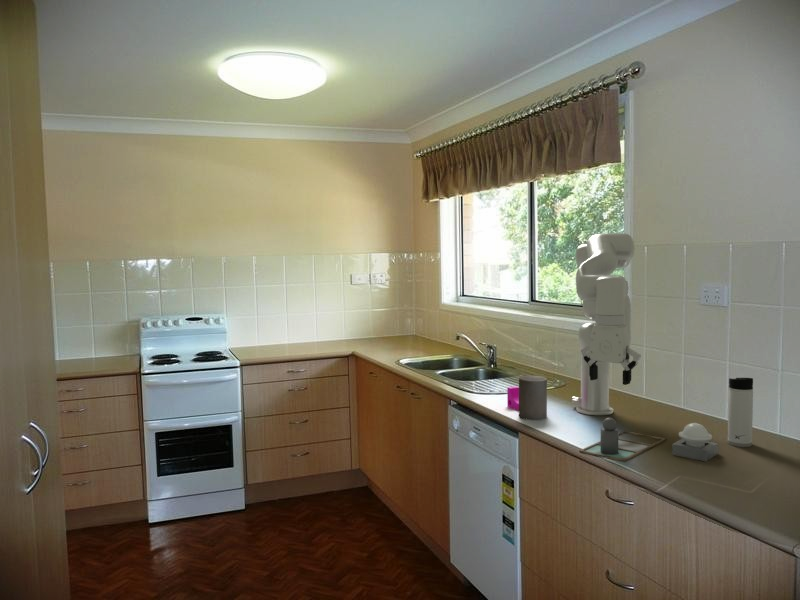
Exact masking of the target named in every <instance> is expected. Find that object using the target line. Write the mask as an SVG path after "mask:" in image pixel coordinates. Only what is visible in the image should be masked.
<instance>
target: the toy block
mask: <svg viewBox="0 0 800 600" xmlns="http://www.w3.org/2000/svg"><path fill="white" fill-rule="evenodd" d="M506 389H507V390H506V391H507V395H506V396H507V397H506V398H507V400H506V401H507V402H506V403H507V405H506V406H507V407H509V408H510V409H512V410H513V409H514V410H516V411H518V412H519V386H510V387H507V388H506Z"/></svg>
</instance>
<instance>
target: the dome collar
mask: <svg viewBox="0 0 800 600" xmlns="http://www.w3.org/2000/svg"><path fill="white" fill-rule="evenodd" d="M671 455H672V456H677V457H683V458H686V459H687V458H688V459H692V460H698V461H702V462H708V461H709V460H711V459H712V458H713V457H715V456H717V455H719V443H718V442H714V441H713V442H712V441H706V443H705V447H703V448H699V447H694V446H689V445H686V441H685V440H684V439H683V438H681V439H679V440H677V441H676V442H673V443H672V445H671Z"/></svg>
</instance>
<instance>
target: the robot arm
mask: <svg viewBox="0 0 800 600" xmlns="http://www.w3.org/2000/svg"><path fill="white" fill-rule="evenodd" d="M634 254H635V242H634V240H633V237H632V236H631V235H630V234H629V233H625V232H623V233H622V232H618V233H617V232H616V233H615V232H612V233H598V234H594V235H591V237H589V238H588V240H587V242H586V243H583V244H580V245H579V246H578V247H577V248H576V250H575V259H576V266H577V270H576V274H575V287H576V289H575V290H576V293H577V294H576V295H577V297H578V298H579V299H580V300H581V301H582V312H583V315H584V316H585V318H587V319H591V320H592V322H587V323H584V324H581V325H580V327H579V328H578V334H577V335H578V343H579V344H578V345H579V349H580V350H579V351H580V396H579V397H578V396H572V397H571V403H572V404H577V406H575V407H576V409H575V410H576V412H577V413H579V414H583V415H589V416H608V415H612V414H613V413H614V408H613V407H611V406H610V404H609V403H610V401H609V400H610V394H609V393H610V386H609V385H610V363H611V364H620V365H621V366H622V367H623V370H622V385H623V386H626V385H630V384H631V381H632V370H633V369H634V368H635V367H636V366H637V365H638V363H639V361H640V360H641V358H642V355H641V354H640V353H638V352H637V351H635V350H634V349H632V348H631V347H630V345H631V340H632V339H631V337H632V336H631V335H632V334H631V333H632V321H631V320H632V306H631V305H632V304H631V299H630V296H629V295H628V293H629V283H628V280H626V278H625V276H623V275H621V274H613V273H614V272H615V271H616V269H624V268H627V267H628V266H629V264H630V263H631V261H632V259H633V257H634V256H635V255H634ZM593 321H594V322H593ZM631 357H632V361H630V358H631Z"/></svg>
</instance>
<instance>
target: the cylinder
mask: <svg viewBox="0 0 800 600" xmlns="http://www.w3.org/2000/svg"><path fill="white" fill-rule="evenodd" d="M617 426H618V425H617V421H616V420H615V419H614V418H612V417H606V418H605V419H603V421H602V428H600V441H601V450H600V452H601V453H603V454H608V455H615V454H618V439H619V438H620V437H619V436H620V435H619V433H620V431H619V429H618V428H617Z"/></svg>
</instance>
